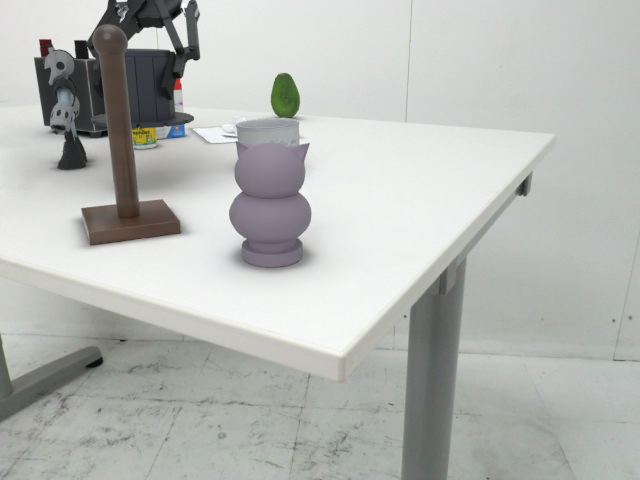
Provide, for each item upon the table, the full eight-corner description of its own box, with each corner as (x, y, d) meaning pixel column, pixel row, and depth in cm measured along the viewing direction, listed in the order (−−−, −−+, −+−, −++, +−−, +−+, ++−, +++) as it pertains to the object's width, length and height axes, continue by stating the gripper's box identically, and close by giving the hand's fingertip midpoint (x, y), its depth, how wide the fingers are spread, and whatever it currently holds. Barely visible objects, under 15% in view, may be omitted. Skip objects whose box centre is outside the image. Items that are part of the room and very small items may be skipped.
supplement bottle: (158, 144, 118) (154, 96, 114) (155, 149, 113) (150, 99, 109) (131, 144, 117) (126, 96, 114) (127, 149, 112) (121, 99, 109)
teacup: (277, 177, 92) (277, 127, 89) (224, 169, 97) (222, 122, 94) (319, 161, 104) (320, 117, 101) (269, 155, 109) (269, 112, 106)
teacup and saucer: (217, 132, 131) (216, 114, 130) (250, 130, 134) (249, 113, 133) (226, 139, 124) (225, 120, 122) (261, 137, 127) (261, 118, 125)
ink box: (176, 133, 130) (172, 66, 125) (185, 136, 126) (181, 67, 121) (140, 136, 125) (133, 67, 120) (148, 140, 122) (142, 68, 116)
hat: (87, 115, 88) (79, 47, 84) (180, 112, 94) (176, 48, 90) (97, 130, 76) (88, 51, 72) (204, 125, 82) (200, 51, 78)
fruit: (270, 116, 157) (269, 71, 153) (298, 116, 158) (298, 71, 154) (271, 120, 150) (270, 73, 146) (301, 120, 151) (301, 73, 147)
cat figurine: (220, 266, 57) (213, 148, 53) (243, 240, 64) (240, 134, 60) (303, 273, 56) (303, 152, 52) (317, 245, 63) (319, 137, 59)
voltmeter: (150, 128, 136) (141, 39, 129) (95, 138, 122) (83, 40, 115) (101, 122, 143) (91, 38, 136) (45, 132, 129) (30, 39, 122)
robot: (84, 176, 91) (67, 44, 84) (51, 178, 90) (31, 44, 83) (91, 152, 109) (77, 42, 102) (64, 153, 107) (48, 41, 100)
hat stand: (82, 219, 71) (55, 23, 63) (163, 209, 75) (147, 25, 67) (90, 245, 62) (59, 23, 54) (181, 232, 66) (165, 24, 59)
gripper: (233, -1, 92) (214, 111, 83) (103, -3, 94) (69, 107, 84) (225, -41, 86) (202, 76, 76) (85, -43, 87) (45, 72, 77)
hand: (132, 92), depth 80 cm, fingers closed on hat, 9 cm apart
